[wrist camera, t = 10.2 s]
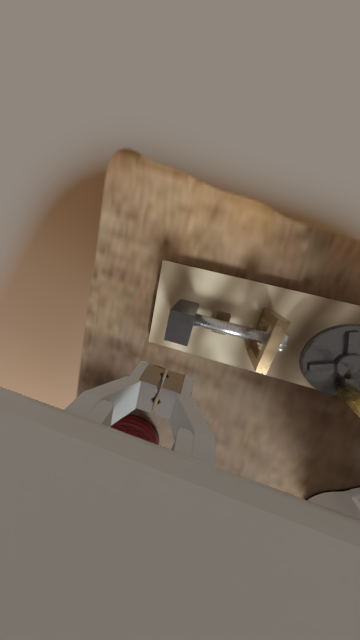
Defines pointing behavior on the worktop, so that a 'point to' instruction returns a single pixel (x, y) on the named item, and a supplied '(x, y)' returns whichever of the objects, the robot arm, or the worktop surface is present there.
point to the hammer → (207, 326)
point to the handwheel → (334, 363)
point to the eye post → (267, 340)
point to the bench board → (244, 316)
